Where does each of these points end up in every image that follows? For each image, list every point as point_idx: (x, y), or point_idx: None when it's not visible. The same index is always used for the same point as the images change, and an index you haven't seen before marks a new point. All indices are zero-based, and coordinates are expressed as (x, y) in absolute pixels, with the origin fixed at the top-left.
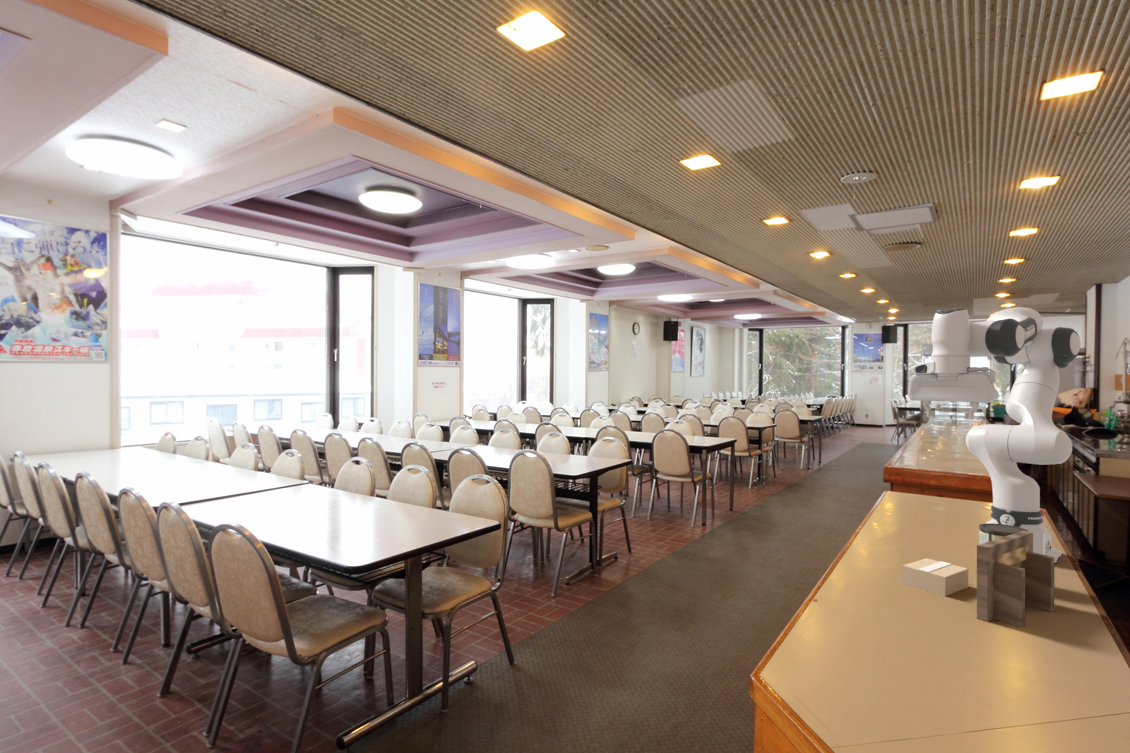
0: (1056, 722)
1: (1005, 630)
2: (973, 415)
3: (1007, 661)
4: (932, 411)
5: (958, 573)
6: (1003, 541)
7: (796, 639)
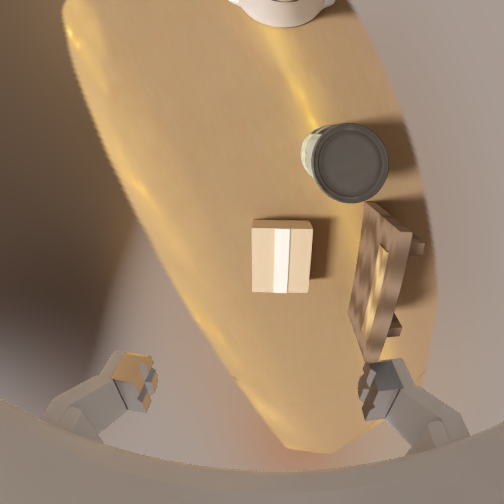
0: None
1: None
2: (406, 379)
3: None
4: (147, 410)
5: (310, 257)
6: (388, 325)
7: (272, 424)
